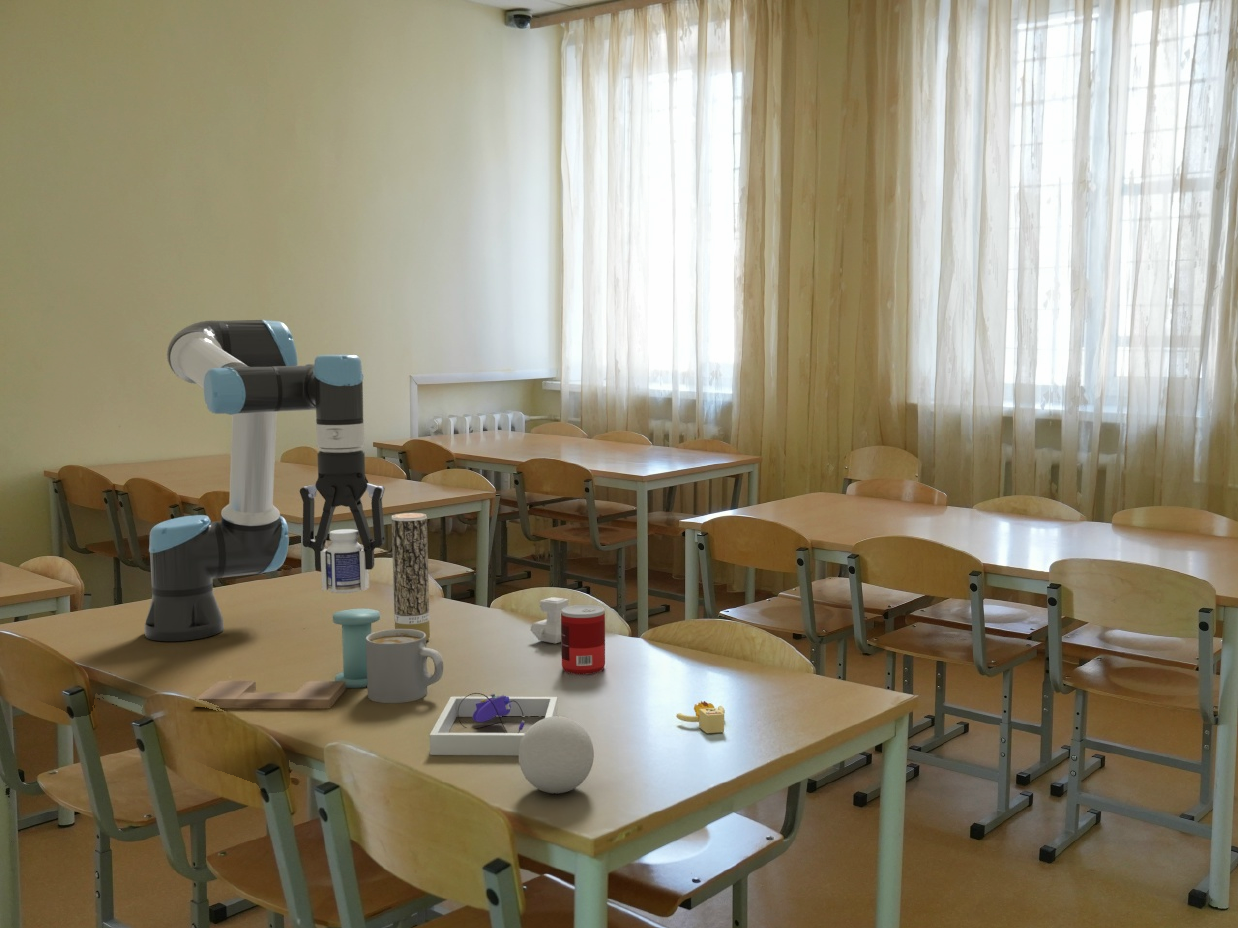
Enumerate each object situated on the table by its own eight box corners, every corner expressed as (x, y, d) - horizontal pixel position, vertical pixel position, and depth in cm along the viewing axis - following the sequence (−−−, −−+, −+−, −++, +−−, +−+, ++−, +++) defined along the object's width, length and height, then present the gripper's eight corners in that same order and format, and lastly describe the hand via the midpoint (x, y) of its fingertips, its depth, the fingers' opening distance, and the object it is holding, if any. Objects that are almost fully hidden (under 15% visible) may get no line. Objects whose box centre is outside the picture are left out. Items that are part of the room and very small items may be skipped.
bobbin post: (329, 687, 206) (327, 619, 204) (341, 674, 214) (339, 608, 212) (375, 687, 206) (373, 619, 204) (386, 674, 214) (384, 608, 212)
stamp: (555, 633, 241) (554, 592, 240) (581, 638, 237) (580, 597, 236) (526, 643, 234) (525, 601, 233) (552, 648, 230) (552, 605, 229)
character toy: (721, 695, 189) (739, 710, 182) (721, 715, 190) (739, 731, 182) (673, 700, 187) (689, 715, 180) (673, 720, 188) (689, 736, 180)
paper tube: (433, 636, 239) (430, 513, 237) (425, 645, 233) (421, 518, 230) (400, 635, 240) (397, 512, 237) (390, 644, 233) (387, 518, 230)
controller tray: (430, 754, 173) (429, 734, 173) (451, 714, 191) (451, 696, 191) (547, 755, 173) (546, 735, 172) (557, 715, 191) (557, 696, 190)
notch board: (196, 707, 196) (195, 698, 195) (218, 689, 206) (218, 680, 205) (329, 708, 195) (329, 699, 195) (345, 689, 205) (345, 681, 205)
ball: (556, 811, 153) (556, 736, 152) (503, 791, 159) (502, 719, 158) (609, 789, 160) (609, 716, 159) (556, 770, 167) (555, 701, 166)
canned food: (614, 667, 217) (613, 608, 215) (582, 677, 211) (582, 616, 210) (583, 660, 222) (583, 602, 221) (552, 669, 216) (552, 609, 215)
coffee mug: (355, 697, 201) (353, 639, 199) (394, 681, 209) (392, 626, 208) (417, 709, 194) (415, 649, 193) (455, 693, 202) (454, 635, 201)
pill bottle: (370, 588, 199) (368, 529, 198) (349, 595, 194) (347, 534, 193) (342, 585, 202) (340, 527, 201) (320, 592, 197) (318, 532, 195)
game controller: (452, 698, 188) (513, 680, 190) (465, 749, 187) (527, 731, 189) (455, 698, 178) (520, 679, 181) (469, 752, 177) (534, 732, 179)
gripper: (276, 452, 192) (282, 593, 194) (393, 451, 191) (397, 593, 194) (290, 447, 199) (296, 583, 202) (402, 446, 199) (406, 583, 201)
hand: (345, 588), depth 198 cm, fingers closed on pill bottle, 6 cm apart
